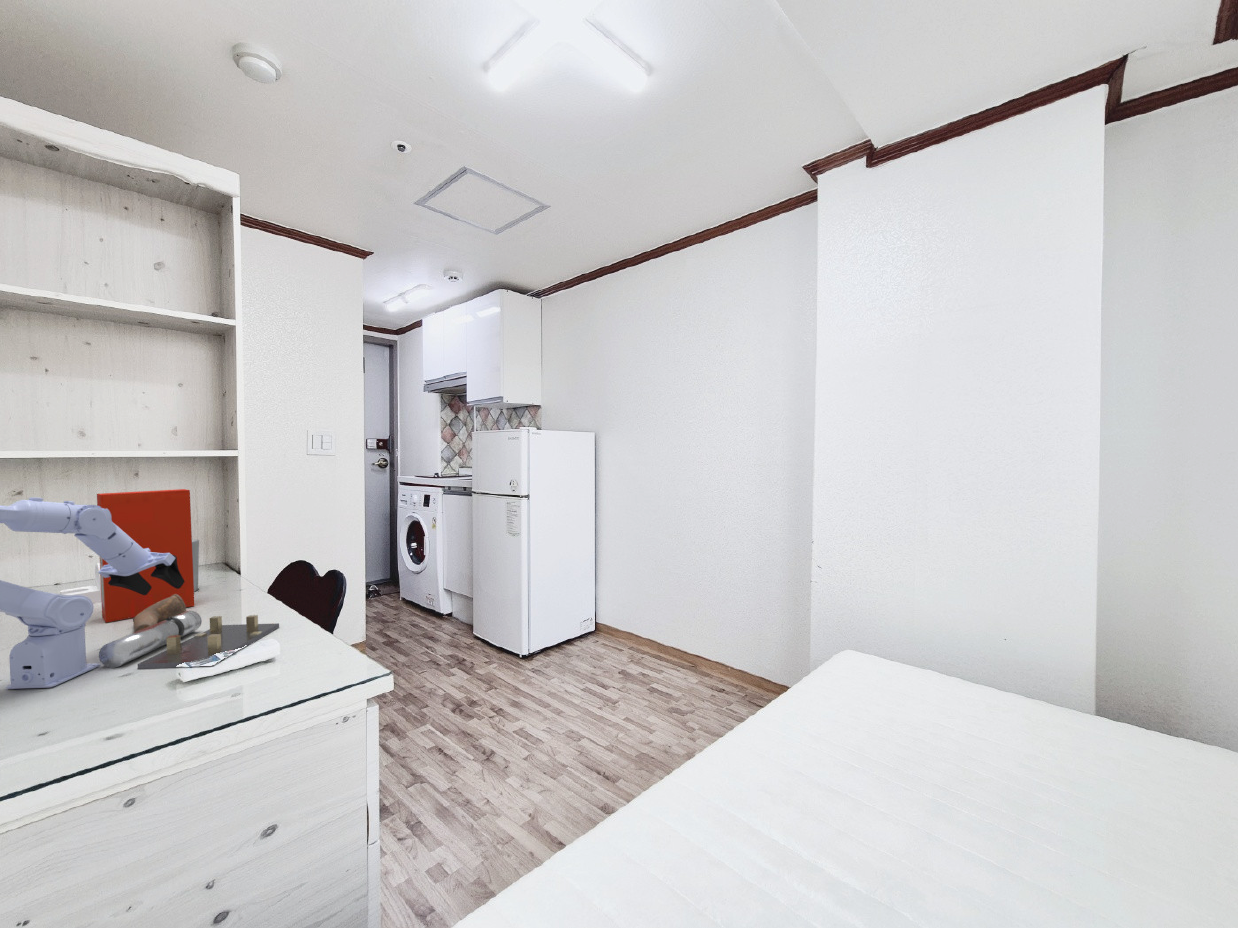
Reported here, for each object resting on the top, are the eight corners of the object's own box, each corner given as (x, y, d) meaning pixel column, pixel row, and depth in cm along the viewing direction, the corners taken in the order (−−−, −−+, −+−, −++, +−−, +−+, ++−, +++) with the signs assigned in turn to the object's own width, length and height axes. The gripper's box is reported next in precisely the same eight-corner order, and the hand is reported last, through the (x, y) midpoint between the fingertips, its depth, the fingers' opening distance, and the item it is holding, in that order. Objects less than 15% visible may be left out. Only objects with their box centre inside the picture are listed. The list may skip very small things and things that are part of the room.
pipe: (126, 620, 116) (183, 604, 122) (130, 604, 128) (181, 589, 135) (134, 647, 117) (190, 629, 123) (136, 628, 129) (187, 613, 135)
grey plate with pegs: (212, 666, 102) (211, 643, 101) (137, 668, 101) (136, 646, 101) (279, 627, 124) (278, 608, 123) (218, 629, 123) (217, 610, 123)
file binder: (102, 616, 133) (96, 493, 132) (187, 601, 146) (183, 488, 145) (105, 623, 128) (100, 495, 127) (194, 606, 141) (190, 490, 140)
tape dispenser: (151, 594, 154) (149, 558, 154) (63, 609, 141) (61, 570, 140) (145, 589, 161) (143, 554, 160) (60, 602, 147) (58, 565, 146)
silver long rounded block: (126, 667, 102) (125, 639, 101) (99, 668, 101) (98, 640, 101) (202, 631, 122) (201, 608, 121) (179, 631, 121) (178, 608, 121)
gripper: (162, 528, 110) (204, 568, 119) (96, 541, 110) (143, 580, 119) (143, 553, 105) (188, 593, 114) (73, 567, 105) (124, 605, 114)
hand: (164, 588), depth 116 cm, fingers open, 7 cm apart
